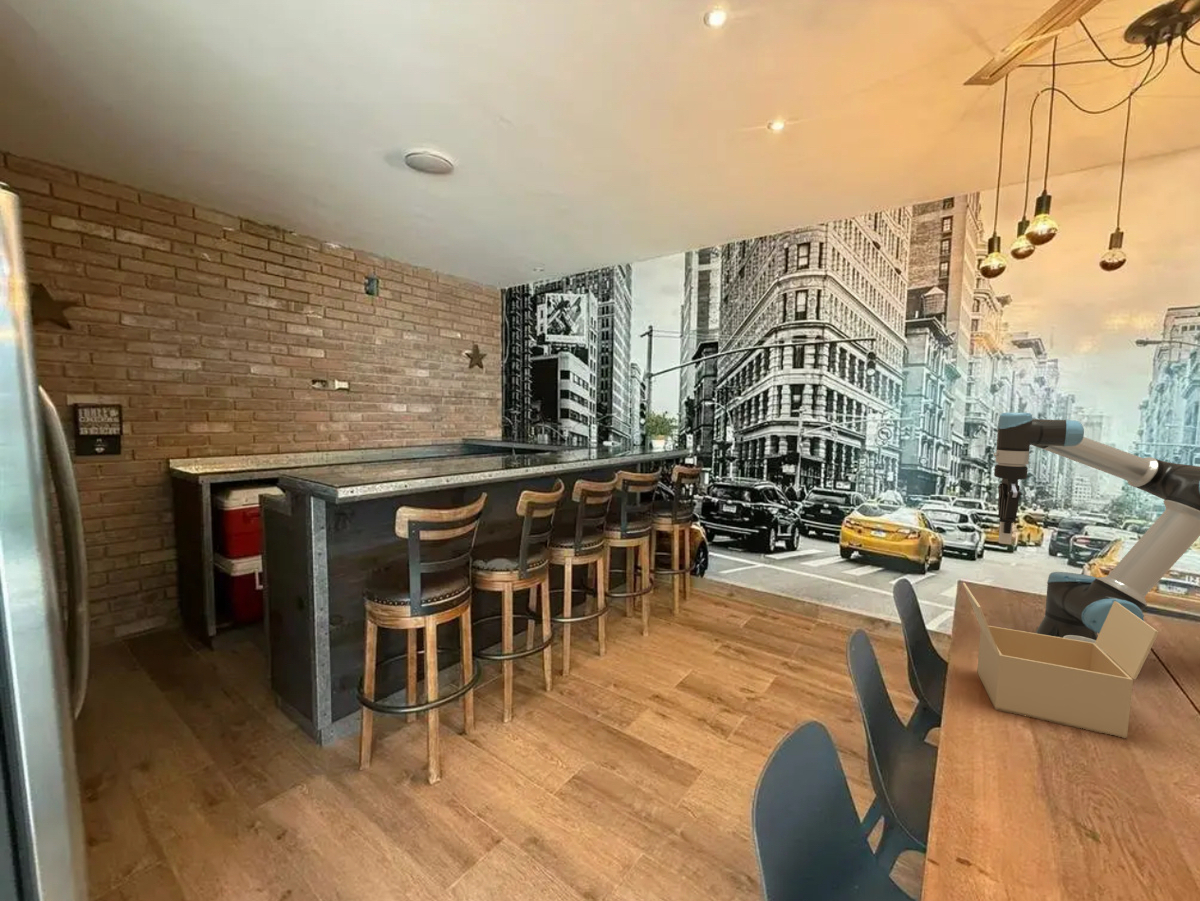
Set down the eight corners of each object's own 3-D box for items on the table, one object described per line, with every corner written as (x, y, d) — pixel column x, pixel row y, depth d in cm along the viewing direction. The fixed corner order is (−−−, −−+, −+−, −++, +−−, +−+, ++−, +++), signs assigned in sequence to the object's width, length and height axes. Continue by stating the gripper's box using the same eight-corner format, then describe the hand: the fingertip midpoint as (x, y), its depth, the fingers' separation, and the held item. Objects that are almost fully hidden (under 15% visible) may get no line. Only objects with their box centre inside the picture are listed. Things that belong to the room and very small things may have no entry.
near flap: (1095, 642, 131) (1097, 643, 130) (1132, 678, 113) (1135, 679, 113) (1114, 600, 128) (1116, 601, 128) (1155, 631, 111) (1158, 632, 111)
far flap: (999, 654, 124) (997, 654, 124) (981, 623, 141) (979, 624, 141) (980, 606, 125) (978, 607, 125) (964, 582, 142) (962, 583, 142)
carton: (1089, 694, 132) (1094, 643, 131) (1126, 738, 114) (1133, 679, 113) (977, 672, 143) (980, 624, 141) (995, 709, 125) (999, 655, 123)
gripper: (989, 462, 156) (984, 536, 158) (1001, 466, 144) (994, 546, 146) (1020, 463, 153) (1014, 539, 155) (1034, 467, 141) (1027, 550, 143)
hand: (1004, 543), depth 151 cm, fingers closed
